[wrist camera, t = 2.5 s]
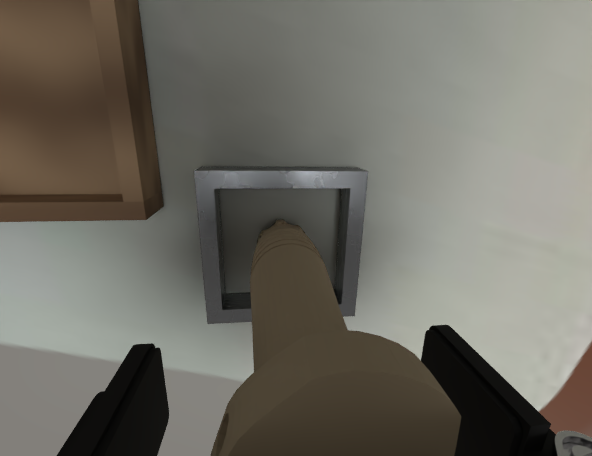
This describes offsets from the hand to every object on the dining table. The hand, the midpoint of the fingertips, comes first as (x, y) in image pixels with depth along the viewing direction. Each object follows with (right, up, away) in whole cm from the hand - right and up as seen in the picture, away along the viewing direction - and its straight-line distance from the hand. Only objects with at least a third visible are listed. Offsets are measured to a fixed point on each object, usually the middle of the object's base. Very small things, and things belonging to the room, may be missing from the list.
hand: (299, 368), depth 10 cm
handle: (-1, +4, +10) cm, 11 cm away
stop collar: (-1, +4, +10) cm, 11 cm away
